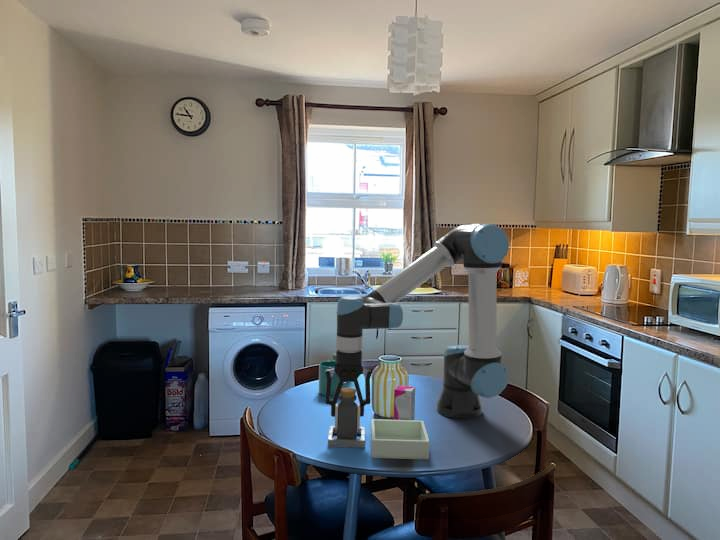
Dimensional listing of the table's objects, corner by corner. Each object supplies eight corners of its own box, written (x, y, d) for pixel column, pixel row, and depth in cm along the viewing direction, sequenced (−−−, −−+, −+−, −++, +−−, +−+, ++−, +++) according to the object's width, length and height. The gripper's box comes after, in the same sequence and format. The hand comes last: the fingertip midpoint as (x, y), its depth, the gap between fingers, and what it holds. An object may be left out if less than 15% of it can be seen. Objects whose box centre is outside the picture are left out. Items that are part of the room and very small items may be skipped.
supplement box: (414, 420, 173) (415, 386, 172) (410, 427, 168) (411, 391, 167) (397, 418, 175) (398, 384, 174) (392, 424, 169) (393, 389, 168)
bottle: (335, 435, 159) (336, 387, 158) (354, 435, 160) (356, 386, 159) (338, 443, 153) (339, 393, 152) (358, 443, 154) (359, 392, 153)
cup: (348, 398, 194) (349, 368, 193) (316, 396, 196) (317, 366, 195) (351, 390, 203) (352, 361, 202) (321, 388, 204) (321, 360, 204)
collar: (364, 433, 162) (364, 426, 162) (364, 447, 151) (364, 440, 151) (330, 432, 162) (330, 425, 162) (327, 446, 151) (327, 439, 151)
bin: (422, 436, 160) (423, 420, 160) (428, 459, 145) (429, 441, 144) (370, 435, 160) (371, 419, 160) (371, 457, 145) (372, 440, 144)
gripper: (379, 347, 159) (377, 422, 161) (316, 346, 157) (315, 422, 159) (382, 353, 151) (380, 431, 153) (316, 352, 150) (314, 431, 152)
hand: (347, 426), depth 156 cm, fingers closed on bottle, 6 cm apart
